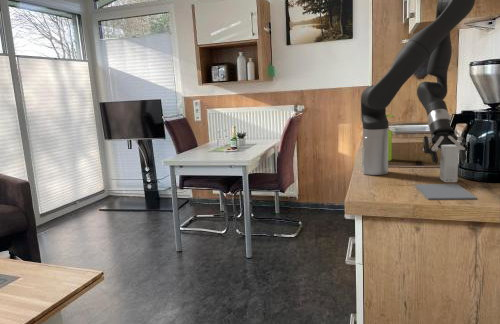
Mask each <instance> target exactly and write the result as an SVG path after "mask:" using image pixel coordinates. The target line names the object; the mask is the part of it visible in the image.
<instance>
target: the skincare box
mask: <svg viewBox="0 0 500 324" xmlns="http://www.w3.org/2000/svg"><path fill="white" fill-rule="evenodd" d="M459 154H460V153H459V147H457V146H455V144H454V145H441V148H440V158H439V159H440V160H439V161H440V163H439V179H440V180H441V181H442V182H444V183H458V177H459V173H458V172H459Z"/></svg>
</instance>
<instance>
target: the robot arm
mask: <svg viewBox="0 0 500 324" xmlns="http://www.w3.org/2000/svg"><path fill="white" fill-rule="evenodd" d="M475 3H476V0H437V4H436V12H435V19H434V20H433V21H432V22H431V23H429V24H428V25H426V26H425V27H423V28H422V29H420V30H419V31H417V32H416V33H415V34H413V35H412V36H411V38H409V40H407V42H406V43H405V44H404V45H403V47H401V49H400V50H399V51H398V53H397V55H395V56H396V57H395V58H394V60H393V63H392V64H391V67H390V68H389V69H388V71H386V73H385V75H383V77H382V78H381V79H380V80H379V81H378V82H377V83H375V85H369V86H367V87H365V88H364V89H363V90H362V92H361V97H360V116H361V124H362V147H361V150H362V152H361V163H362V165H361V166H362V167H361V170H362V173H363V175H370V176H382V175H387V174H389V161H388V123H389V120H388V117H386V115H387V113H386V111H387V110H386V108H388V106H390V104H391V102H392V101H393V100H394V98H395V97H396V95H397V94H398V92H399V91H400V90H401V88H402V87H403V86H404V85H405V84H406V82H407V81H408V80H409V79H410V78H411V77H412V76H413V75H414V73H416V71H418V70H419V68H420V67H421V66H422V65H423V64H424V62H425V61H427V59H428V58H429V57H430V58H429V60H428V66H427V69H426V72H427V74H428V75H430V76H431V77H436V82H435V81H422V82H421V83H419V84H418V86H417V88H416V95H417V99H418V100H419V102H420V104H421V105H422V106H423V108H424V109H425V113H426V116H427V123H428V128H429V132H430V137H428V136H427V135H424V136H423V140H422V145H423V153H424V154H426V155H427V154H429V155H430V158H431V161H432V163H434V164H438V162H439V158H438V153H437V151H438V150H439V149H441V145H455V146H457V147H459V155H458V157H459V159H460V162H461V163H462V164H463V163H465V162H466V161H467V158H468V157H467V154H466V153H467V152H466V151H467V149H468V147H467V145H466V142H465V138H464V135H465V134H462V135H461V136H460V135H459V136H457V135H456V132H455V129H454V130H453V128H454V127H453V128H452V127H451V126H450V123H449V122H450V118H451V115H450V113H449V110H448V109H449V108H448V105H447V104H446V101H445V99H446V97H447V94H448V72H449V71H448V70H449V66H450V63H451V60H452V55H453V47H452V38H451V32H452V31H453V30H454V29H455V27H457V25H459V24H460V23H461V22H462V21H463V20H464V19H465V18H466V17H467V16H468V15H469V14H470V13H471V11H473V8H474V6H475ZM451 119H452V118H451ZM450 131H453V133H451V134H452V135H451V134H448V133H449V132H450ZM430 143H432V144H433V147H432V148H431V147H430ZM464 145H465V146H466V147H464Z"/></svg>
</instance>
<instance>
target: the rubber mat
mask: <svg viewBox="0 0 500 324" xmlns="http://www.w3.org/2000/svg"><path fill="white" fill-rule="evenodd" d="M414 187H415V188H416V189H417V190H418V191H419V192H420V193H421V194H422V195H423V197H425V199H427V200H432V201H435V200H438V201H439V200H442V201H443V200H444V201H445V200H451V201H452V200H454V201H455V200H477V199H478V198H477V196H475V195H473V194H472V193H471V192H470V191H468V190H466V189H465V188H463V187H462V186H461V185H460V184H458V183H430V184H425V183H424V184H423V183H422V184H414Z"/></svg>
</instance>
